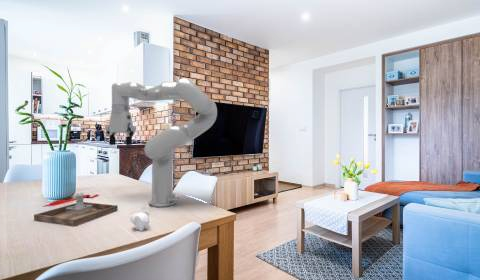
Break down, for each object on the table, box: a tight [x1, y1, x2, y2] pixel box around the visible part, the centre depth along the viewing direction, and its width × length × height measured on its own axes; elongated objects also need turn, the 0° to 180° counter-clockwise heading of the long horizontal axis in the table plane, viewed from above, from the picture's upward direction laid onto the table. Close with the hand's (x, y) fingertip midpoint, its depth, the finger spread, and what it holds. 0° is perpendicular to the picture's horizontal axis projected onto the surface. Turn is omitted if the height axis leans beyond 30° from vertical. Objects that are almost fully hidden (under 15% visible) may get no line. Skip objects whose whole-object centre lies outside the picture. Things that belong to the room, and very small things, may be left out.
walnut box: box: [33, 201, 119, 227], centre depth 103 cm, size 20×20×3 cm
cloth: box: [42, 194, 100, 207], centre depth 128 cm, size 26×14×2 cm, turn 135°
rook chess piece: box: [74, 192, 85, 209], centre depth 107 cm, size 4×4×8 cm
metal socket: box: [65, 204, 93, 216], centre depth 107 cm, size 7×7×2 cm
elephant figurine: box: [130, 210, 150, 232], centre depth 91 cm, size 7×8×6 cm
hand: (120, 144), depth 124 cm, fingers open, 9 cm apart
